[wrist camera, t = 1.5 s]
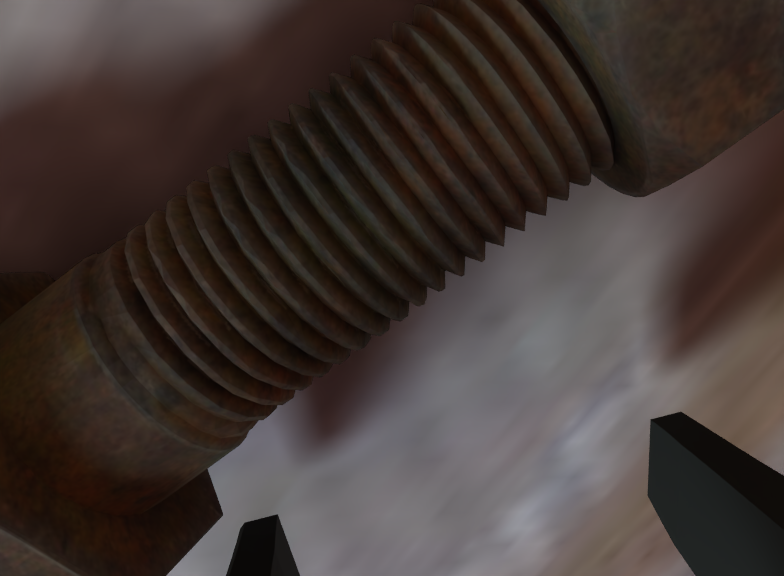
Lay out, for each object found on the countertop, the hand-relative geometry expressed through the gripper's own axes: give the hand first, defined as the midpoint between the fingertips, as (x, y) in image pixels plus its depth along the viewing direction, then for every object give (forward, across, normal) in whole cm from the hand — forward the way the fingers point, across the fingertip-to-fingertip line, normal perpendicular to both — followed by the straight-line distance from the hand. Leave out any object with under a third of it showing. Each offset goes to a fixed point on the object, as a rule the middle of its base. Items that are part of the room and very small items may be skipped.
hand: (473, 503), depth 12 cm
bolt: (+2, 0, -7) cm, 7 cm away
